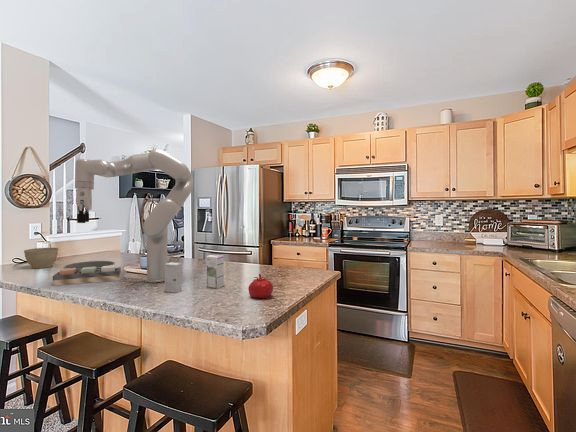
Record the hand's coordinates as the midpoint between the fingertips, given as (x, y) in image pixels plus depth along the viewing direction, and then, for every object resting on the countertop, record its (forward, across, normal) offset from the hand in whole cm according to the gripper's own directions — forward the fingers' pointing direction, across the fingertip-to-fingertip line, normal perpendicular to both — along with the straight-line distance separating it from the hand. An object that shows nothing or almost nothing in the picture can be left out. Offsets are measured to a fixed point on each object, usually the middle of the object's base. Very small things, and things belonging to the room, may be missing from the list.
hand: (83, 222), depth 147 cm
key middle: (+25, +6, -2) cm, 26 cm away
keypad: (+29, +6, -2) cm, 30 cm away
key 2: (+25, +6, -11) cm, 27 cm away
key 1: (+25, +7, +6) cm, 27 cm away
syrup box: (+27, -32, -56) cm, 70 cm away
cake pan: (+30, +30, 0) cm, 43 cm away
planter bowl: (+31, +58, +29) cm, 72 cm away
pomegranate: (+26, -55, -70) cm, 93 cm away
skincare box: (+27, -31, -38) cm, 57 cm away
